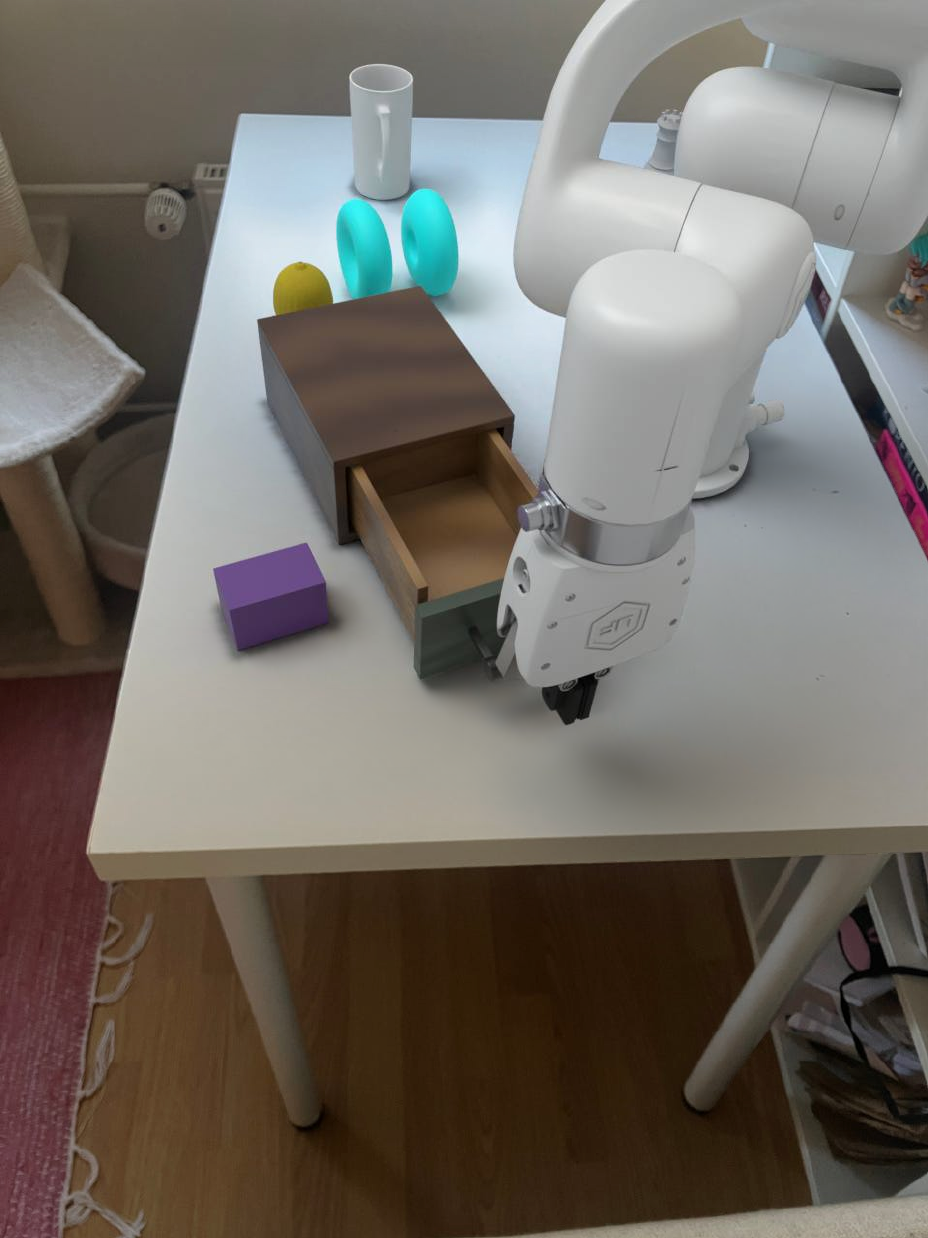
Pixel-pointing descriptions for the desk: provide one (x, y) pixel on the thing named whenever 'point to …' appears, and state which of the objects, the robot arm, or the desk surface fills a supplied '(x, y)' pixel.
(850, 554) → the desk surface
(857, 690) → the desk surface
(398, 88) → the mug
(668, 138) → the rook chess piece
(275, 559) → the purple block
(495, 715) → the desk surface
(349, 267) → the donuts
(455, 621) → the drawer
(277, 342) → the desk cabinet
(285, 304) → the lemon
